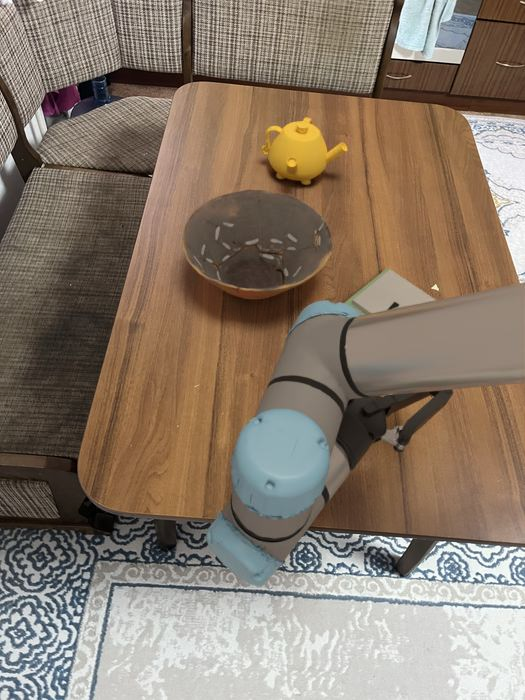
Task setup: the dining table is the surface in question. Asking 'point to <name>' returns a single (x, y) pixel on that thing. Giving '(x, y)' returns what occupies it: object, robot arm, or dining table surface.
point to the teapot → (299, 151)
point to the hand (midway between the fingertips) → (423, 327)
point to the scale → (387, 294)
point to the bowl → (256, 242)
